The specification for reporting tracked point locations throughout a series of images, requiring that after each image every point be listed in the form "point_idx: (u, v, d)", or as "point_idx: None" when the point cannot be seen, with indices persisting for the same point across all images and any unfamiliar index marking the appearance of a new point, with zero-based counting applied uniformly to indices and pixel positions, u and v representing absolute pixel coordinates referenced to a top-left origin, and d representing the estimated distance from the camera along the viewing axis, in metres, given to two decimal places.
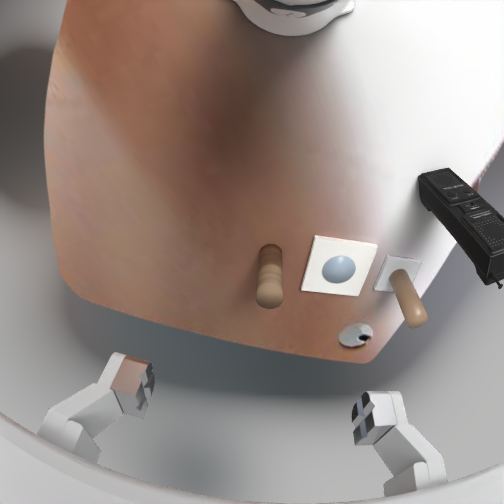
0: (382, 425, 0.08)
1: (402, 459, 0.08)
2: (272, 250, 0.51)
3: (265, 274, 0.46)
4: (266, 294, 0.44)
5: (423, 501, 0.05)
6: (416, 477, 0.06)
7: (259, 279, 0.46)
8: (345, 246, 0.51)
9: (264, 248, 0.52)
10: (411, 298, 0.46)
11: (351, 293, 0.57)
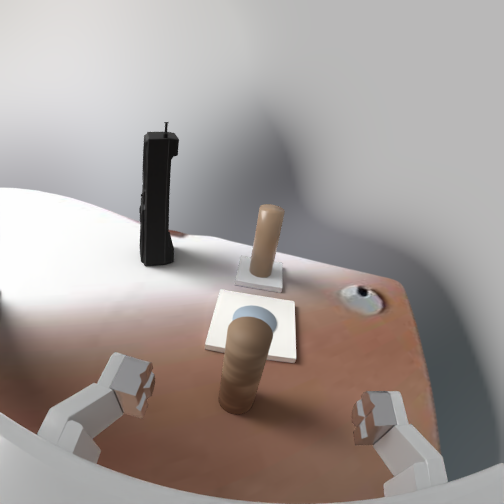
0: (382, 425, 0.08)
1: (402, 459, 0.08)
2: None
3: (225, 361, 0.26)
4: (239, 335, 0.25)
5: (423, 501, 0.05)
6: (416, 477, 0.06)
7: (233, 368, 0.25)
8: (218, 316, 0.42)
9: (221, 402, 0.30)
10: (257, 230, 0.48)
11: (291, 307, 0.46)
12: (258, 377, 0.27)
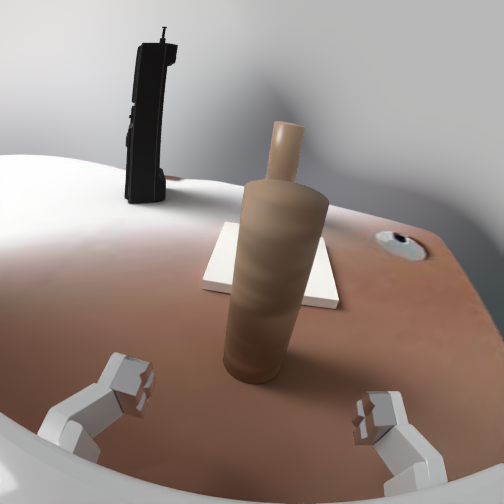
0: (382, 425, 0.08)
1: (402, 459, 0.08)
2: None
3: (238, 263, 0.15)
4: (267, 193, 0.13)
5: (423, 501, 0.05)
6: (416, 477, 0.06)
7: (255, 269, 0.14)
8: (222, 248, 0.30)
9: (229, 362, 0.18)
10: (272, 149, 0.37)
11: (320, 243, 0.34)
12: (299, 297, 0.15)
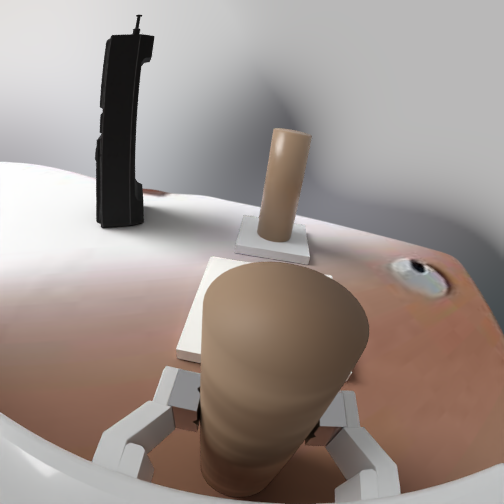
0: (329, 426, 0.08)
1: (353, 464, 0.08)
2: None
3: (202, 407, 0.08)
4: (247, 319, 0.06)
5: (423, 501, 0.05)
6: (362, 485, 0.06)
7: (229, 430, 0.07)
8: None
9: (206, 476, 0.11)
10: (270, 163, 0.30)
11: None
12: (301, 443, 0.08)
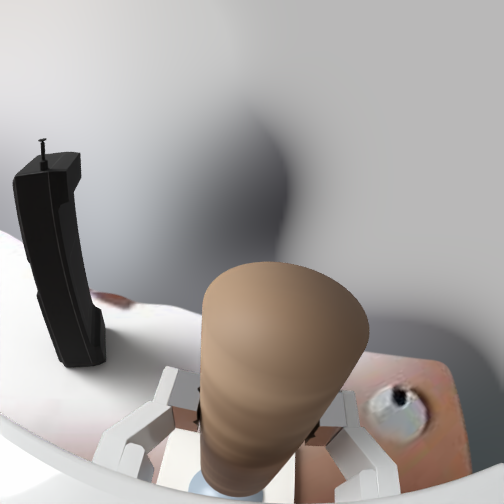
0: (329, 426, 0.08)
1: (353, 464, 0.08)
2: None
3: (202, 407, 0.08)
4: (247, 319, 0.06)
5: (423, 501, 0.05)
6: (361, 485, 0.06)
7: (229, 431, 0.07)
8: (165, 484, 0.19)
9: (205, 476, 0.11)
10: None
11: None
12: (301, 443, 0.08)
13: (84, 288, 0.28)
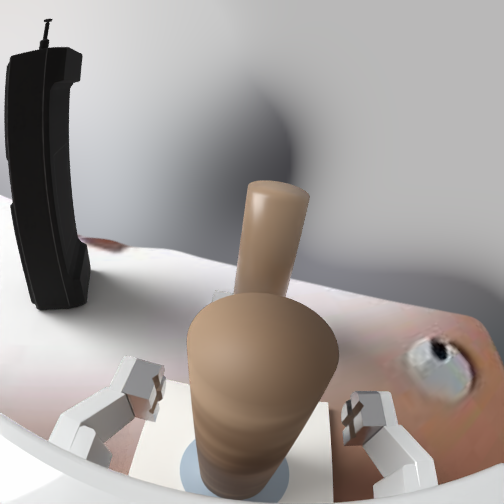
0: (371, 426, 0.08)
1: (392, 460, 0.08)
2: None
3: (194, 421, 0.09)
4: (226, 351, 0.07)
5: (423, 501, 0.05)
6: (405, 479, 0.06)
7: (217, 443, 0.08)
8: (147, 457, 0.13)
9: (204, 481, 0.12)
10: (243, 242, 0.20)
11: (322, 420, 0.17)
12: (286, 453, 0.09)
13: (68, 209, 0.23)
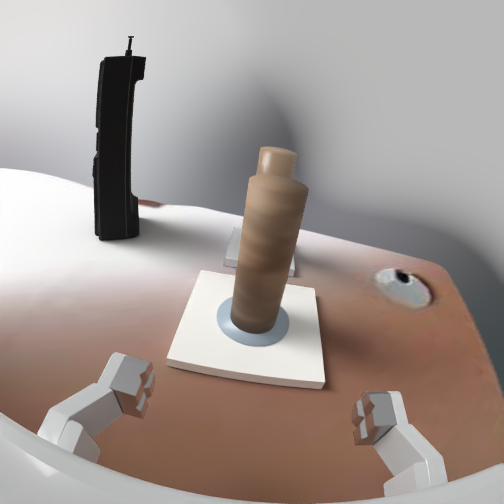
0: (382, 425, 0.08)
1: (402, 459, 0.08)
2: None
3: (244, 233, 0.20)
4: (265, 183, 0.19)
5: (423, 501, 0.05)
6: (416, 477, 0.06)
7: (256, 236, 0.20)
8: (194, 310, 0.25)
9: (235, 315, 0.24)
10: None
11: (310, 297, 0.29)
12: (288, 260, 0.21)
13: (130, 168, 0.35)
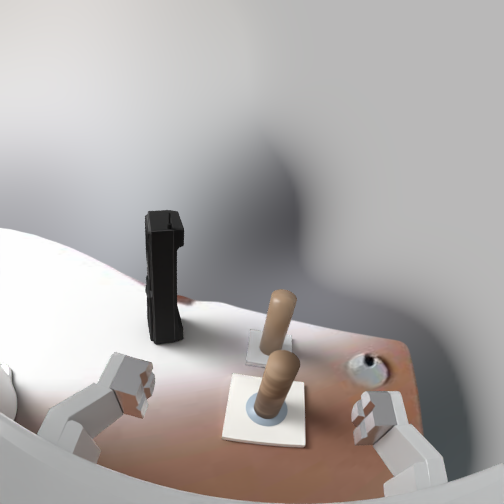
0: (382, 425, 0.08)
1: (402, 459, 0.08)
2: (255, 400, 0.39)
3: (264, 382, 0.35)
4: (276, 364, 0.34)
5: (423, 501, 0.05)
6: (416, 477, 0.06)
7: (271, 387, 0.34)
8: (232, 405, 0.40)
9: (257, 410, 0.39)
10: (268, 316, 0.47)
11: (301, 389, 0.44)
12: (287, 392, 0.36)
13: None
